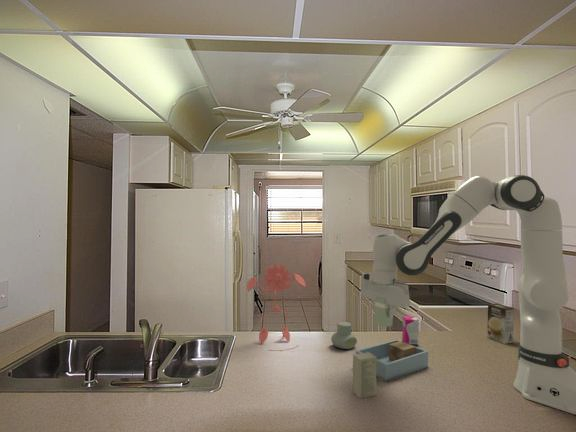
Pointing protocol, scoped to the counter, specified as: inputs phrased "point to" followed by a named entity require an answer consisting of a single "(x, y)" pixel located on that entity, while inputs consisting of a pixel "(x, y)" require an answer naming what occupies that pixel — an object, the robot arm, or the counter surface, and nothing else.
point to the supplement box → (410, 330)
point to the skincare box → (364, 374)
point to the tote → (397, 368)
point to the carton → (382, 313)
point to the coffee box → (500, 323)
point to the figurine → (275, 281)
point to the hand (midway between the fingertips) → (383, 314)
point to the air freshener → (344, 336)
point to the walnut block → (400, 350)
